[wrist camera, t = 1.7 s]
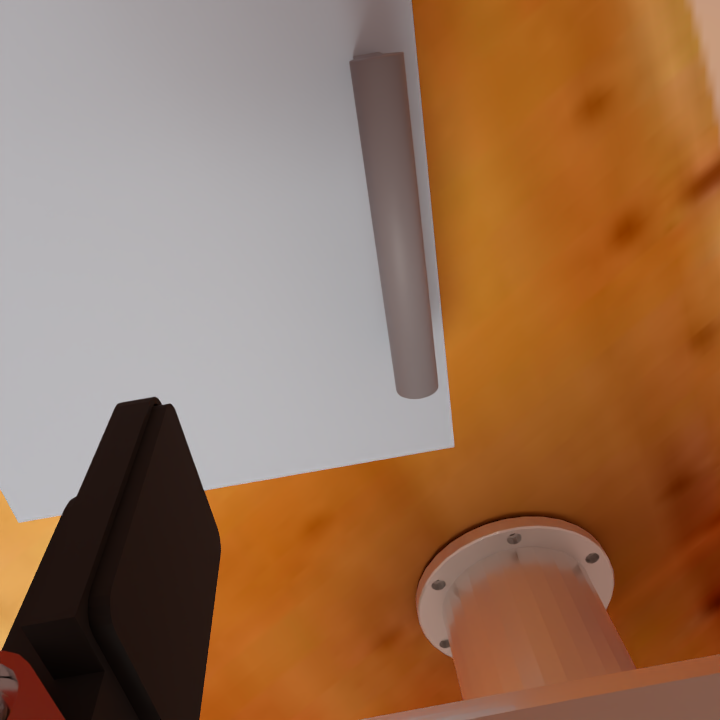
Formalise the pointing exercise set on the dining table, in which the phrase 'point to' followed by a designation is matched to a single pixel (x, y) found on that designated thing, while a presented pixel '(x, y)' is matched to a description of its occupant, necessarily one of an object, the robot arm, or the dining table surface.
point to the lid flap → (214, 237)
